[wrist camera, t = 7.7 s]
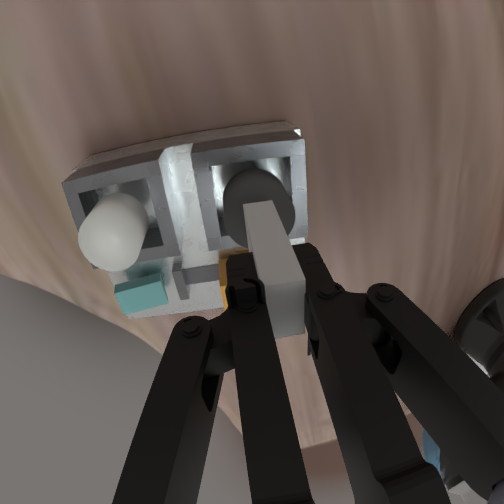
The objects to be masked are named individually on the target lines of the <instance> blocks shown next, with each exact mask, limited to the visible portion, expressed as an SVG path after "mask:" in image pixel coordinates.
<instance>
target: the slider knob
mask: <svg viewBox="0 0 504 504" xmlns="http://www.w3.org/2000/svg"><path fill="white" fill-rule="evenodd" d="M227 259H228V258H225V259H218V263H219V284H220V291H221V295H222V300H223V305H224V309H225V310H226V309H227V307H228V304H227V299H226V294H225V289H226V286H227V273H226V261H227Z"/></svg>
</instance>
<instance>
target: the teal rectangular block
mask: <svg viewBox="0 0 504 504" xmlns="http://www.w3.org/2000/svg"><path fill="white" fill-rule="evenodd" d="M114 294H115V296H116V298H117V300H118V303H119V305H120V307H121V309H122V311H123V313H124V315H127V314H131V313H134V312H138V311H142V310H146V309H150V308H153V307H157V306H161V305H165V304H168V297H167V293H166V290H165V287H164V284H163V281H162V278H161V275H160V273H156V274H153V275H149V276H145V277H142V278H138V279H134V280H131V281H127V282H123V283H120V284H116V285H115V291H114Z"/></svg>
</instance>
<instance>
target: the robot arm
mask: <svg viewBox="0 0 504 504" xmlns="http://www.w3.org/2000/svg"><path fill="white" fill-rule="evenodd" d="M243 210H244V217H245V225H246V233H247V240H248V248H249V253H242V254H236V255H230V256H229V258H228V259H227V261H226V273H227V286H226V289H225V294H226V299H227V304H228V307H227V309H226V310H225V312H224V313H222V314H221V315H220V316H218V317H216V318H213V319H211V320H207V319H205V318H204V317H200V316H189V317H186V318H184V319H182V320H180V321H179V322H178V323H176V325H175V327H174V328H173V330H172V333H171V336H170V338H169V341H168V343H167V346H166V349H165V351H164V354H163V357H162V359H161V362H160V365H159V367H158V370H157V373H156V376H155V378H154V381H153V383H152V386H151V389H150V392H149V394H148V397H147V400H146V403H145V406H144V408H143V411H142V414H141V417H140V420H139V423H138V426H137V429H136V431H135V435H134V438H133V440H132V443H131V446H130V449H129V452H128V455H127V458H126V461H125V465H124V467H123V470H122V474H121V477H120V480H119V483H118V486H117V489H116V493H115V496H114V499H113V503H112V504H196V502H197V498H198V493H199V489H200V484H201V479H202V475H203V470H204V465H205V461H206V456H207V451H208V446H209V442H210V437H211V432H212V427H213V423H214V418H215V413H216V408H217V404H218V400H219V395H220V390H221V386H222V381H223V376H224V373H225V372H227V371H230V370H232V369H234V368H235V374H236V383H237V391H238V400H239V408H240V416H241V424H242V432H243V440H244V447H245V455H246V463H247V470H248V477H249V485H250V492H251V498H252V504H315V503H314V501H313V499H312V496H311V492H310V489H309V484H308V479H307V475H306V471H305V467H304V462H303V458H302V453H301V449H300V445H299V440H298V436H297V432H296V428H295V423H294V419H293V415H292V410H291V406H290V402H289V398H288V393H287V389H286V385H285V380H284V376H283V372H282V368H281V363H280V359H279V355H278V351H277V346H276V342H275V338H281V337H287V336H292V335H298V334H303V333H305V326H306V329H307V332H308V355H311V354H312V357H313V360H314V363H315V367H316V370H317V373H318V376H319V379H320V383H321V386H322V389H323V392H324V396H325V399H326V402H327V405H328V409H329V412H330V415H331V419H332V422H333V425H334V429H335V432H336V435H337V439H338V442H339V445H340V449H341V452H342V456H343V459H344V462H345V466H346V469H347V473H348V476H349V480H350V483H351V487H352V491H353V494H354V498H355V504H451V502H450V500H449V497H448V494H447V491H446V488H445V486H444V485H445V484H446V485H447V488H448V491H449V492H451V493H455V494H459V495H461V496H462V498H463V502H464V504H504V279H502V280H499V281H497V282H495V283H493V284H492V285H490V286H489V287H488V288H486V289H485V290H484V291H483V292H482V293H480V294H479V295H478V296H477V297H476V298H475V299H474V301H473V302H472V303H471V304H470V305H469V306H468V308H467V309H466V310H465V312H464V313H463V315H462V316H461V318H460V320H459V322H458V324H457V326H456V329H455V333H454V339H455V341H456V343H457V344H458V345H457V344H456V343H455V342H454V341H453V340H452V339H451V338H450V337H449V336H448V335H447V334H446V333H445V332H444V331H442V330H441V329H440V328H439V327H438V326H437V325H436V324H435V323H434V322H433V321H432V320H431V319H430V318H429V317H428V316H427V315H426V314H425V313H424V312H423V311H422V310H421V309H419V308H418V307H417V306H416V305H415V304H414V303H413V302H412V301H411V300H410V299H409V298H408V297H407V296H405V295H404V294H403V293H402V292H401V291H400V290H399V289H398V288H396V287H395V286H393V285H390V284H387V283H378V284H374V285H372V286H371V287H369V289H368V291H367V293H351V292H347V291H345V289H344V288H343V287H342V286H341V285H340V284H338V283H336V282H334V281H333V279H332V277H331V275H330V273H329V271H328V269H327V267H326V265H325V263H324V262H323V259H322V258H321V256H320V254H319V252H318V250H317V248H316V247H314V246H313V245H312V244H310V243H302V244H296V245H291V243H290V241H289V238H288V236H287V234H286V231H285V229H284V227H283V224H282V222H281V220H280V217H279V215H278V213H277V210H276V208H275V206H274V204H273V201H272V200H270V201H263V202H255V203H248V204H243ZM466 353H467V354H469V355H470V356H471V357H472V358H474V359H475V360H476V361H477V362H479V363H480V364H481V365H482V366H484V368H485V369H486V371H487V372H488V374H489V375H490V378H489V377H488V376H487V375H486V374H485V373H484V372H483V371H482V370H481V369H480V368H479V367H478V366H477V365H476V364H475V363H474V362H473V361H472V359H471V358H470V357H469V356H468V355H467V354H466ZM394 391H395V392H396V393H397V395H398V396H399V397H400V398H401V400H402V401H403V402H404V403H405V405H406V406H407V407H408V409H409V410H410V411H411V412H412V414H413V415H414V416H415V417H416V419H417V420H418V421H419V422H420V424H421V425H422V426H423V427H424V430H423V433H422V448H423V455H424V459H425V460H424V459H423V457H422V455H421V453H420V451H419V448H418V445H417V443H416V441H415V438H414V436H413V433H412V431H411V429H410V426H409V424H408V422H407V419H406V417H405V415H404V412H403V410H402V408H401V405H400V403H399V401H398V399H397V396H396V394H395V392H394Z"/></svg>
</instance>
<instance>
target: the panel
mask: <svg viewBox="0 0 504 504" xmlns="http://www.w3.org/2000/svg"><path fill="white" fill-rule="evenodd" d="M254 168H256V169H263V170H267V171H269V172H271V173H272V174H274V175H275V176H276V177H277V178H278V179H279V180H280V181H281V183H282V185H283V187H284V188H285V190H286V192H287V194H288V195H289V197H290V199H291V201H292V203H293V205H294V208H295V214H296V216H295V223H294V226H293V229H292V231H291V232H290V234H289V235H288V238H289V241H290V243H291V245H296V244H302V243H305V237H308V213H307V181H306V158H305V139H304V138H302V137H301V135H300V129H299V128H297V127H296V126H295V125H293V124H292V123H290V122H289V121H280V122H269V123H260V124H251V125H243V126H235V127H228V128H221V129H214V130H208V131H202V132H196V133H190V134H184V135H179V136H174V137H168V138H163V139H158V140H154V141H149V142H144V143H140V144H135V145H131V146H127V147H123V148H119V149H115V150H111V151H107V152H103V153H99V154H95V155H92V156H89V157H88V158H87V159H86V160H84V161H83V162H82V163H81V164H79V165H78V166H77V167H76V168H75V169H73V170H72V172H73V174H71V175H70V176H69V177H68V178H67V179H66V180H65V181H64V182H62V186H63V189H64V192H65V195H66V198H67V201H68V204H69V207H70V210H71V213H72V216H73V219H74V221H75V224H76V227H77V230H78V232H79V229H80V227H81V225H82V223H83V222H84V220H85V219H86V218H87V216H88V215H89V213H90V212H91V211H92V209H93V208H94V207H95V205H96V204H97V203H98V201H99V200H100V199H101V198H103V197H104V196H106V195H108V194H111V193H125V194H128V195H131V196H133V197H134V198H136V199H137V200H138V201H139V202H140V203H141V204H142V205H143V206H144V208H145V210H146V212H147V215H148V219H149V225H148V230H147V233H146V236H145V238H144V241H143V244H142V247H141V250H140V253H139V256H138V258H137V260H136V261H135V263H134V264H133V265H131V266H130V267H128V268H127V269H124V270H121V271H107V272H108V274H109V276H110V279H111V281H112V283H113V286H114V288H115V285H116V284H120V283H123V282H127V281H131V280H134V279H138V278H142V277H145V276H149V275H153V274H156V273H160V275H161V278H162V281H163V284H164V287H165V290H166V293H167V297H168V304H165V305H161V306H157V307H153V308H150V309H146V310H142V311H138V312H134V313H131V314H127V317H128V319H131V318H141V317H150V316H158V315H167V314H175V313H183V312H191V311H198V310H206V309H213V308H220V307H224V305H223V300H222V295H221V291H220V284H219V263H218V259H225V258H229V256H230V255H236V254H242V253H249V249H248V248H245V247H242V246H240V245H239V244H237V243H236V242H234V241H233V240H232V239H231V237H230V236H229V234H228V233H227V230H226V228H225V223H224V210H223V192H224V189H225V187H226V185H227V183H228V182H229V180H230V179H231V178H232V177H233V176H235V175H236V174H238V173H239V172H241V171H244V170H247V169H254ZM91 265H92V267H93V269H97V268H98V267H96V266H95V265H93V264H92V263H91Z"/></svg>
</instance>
